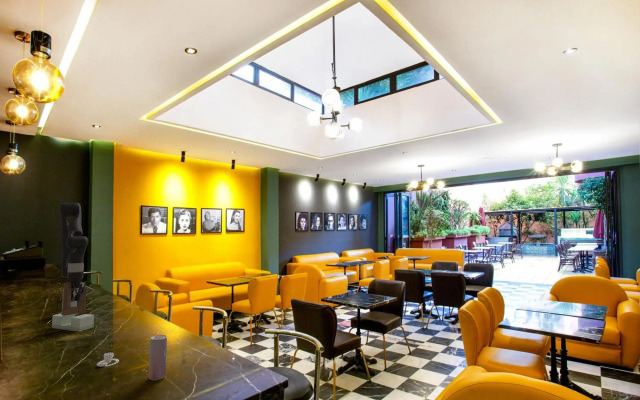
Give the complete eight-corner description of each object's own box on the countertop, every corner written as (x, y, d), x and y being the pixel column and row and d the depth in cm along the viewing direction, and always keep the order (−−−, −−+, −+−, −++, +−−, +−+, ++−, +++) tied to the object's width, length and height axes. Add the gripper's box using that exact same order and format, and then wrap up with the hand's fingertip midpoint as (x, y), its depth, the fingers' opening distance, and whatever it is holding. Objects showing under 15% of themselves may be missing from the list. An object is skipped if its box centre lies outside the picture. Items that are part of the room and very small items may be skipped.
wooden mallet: (85, 312, 194) (86, 281, 195) (62, 316, 186) (64, 283, 187) (83, 311, 196) (84, 280, 198) (61, 315, 188) (62, 282, 190)
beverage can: (152, 374, 129) (153, 334, 131) (168, 373, 130) (169, 334, 131) (145, 381, 124) (147, 340, 125) (162, 380, 124) (163, 339, 125)
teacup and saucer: (100, 370, 135) (100, 359, 135) (90, 365, 139) (91, 355, 139) (122, 362, 142) (122, 352, 142) (113, 358, 146) (113, 349, 147)
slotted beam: (66, 324, 198) (67, 311, 198) (93, 327, 191) (94, 314, 191) (52, 327, 190) (52, 315, 191) (79, 331, 183) (80, 318, 184)
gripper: (90, 270, 194) (89, 300, 193) (73, 269, 199) (72, 298, 198) (78, 272, 187) (76, 303, 186) (60, 271, 192) (58, 301, 190)
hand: (74, 300), depth 192 cm, fingers closed on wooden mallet, 4 cm apart
